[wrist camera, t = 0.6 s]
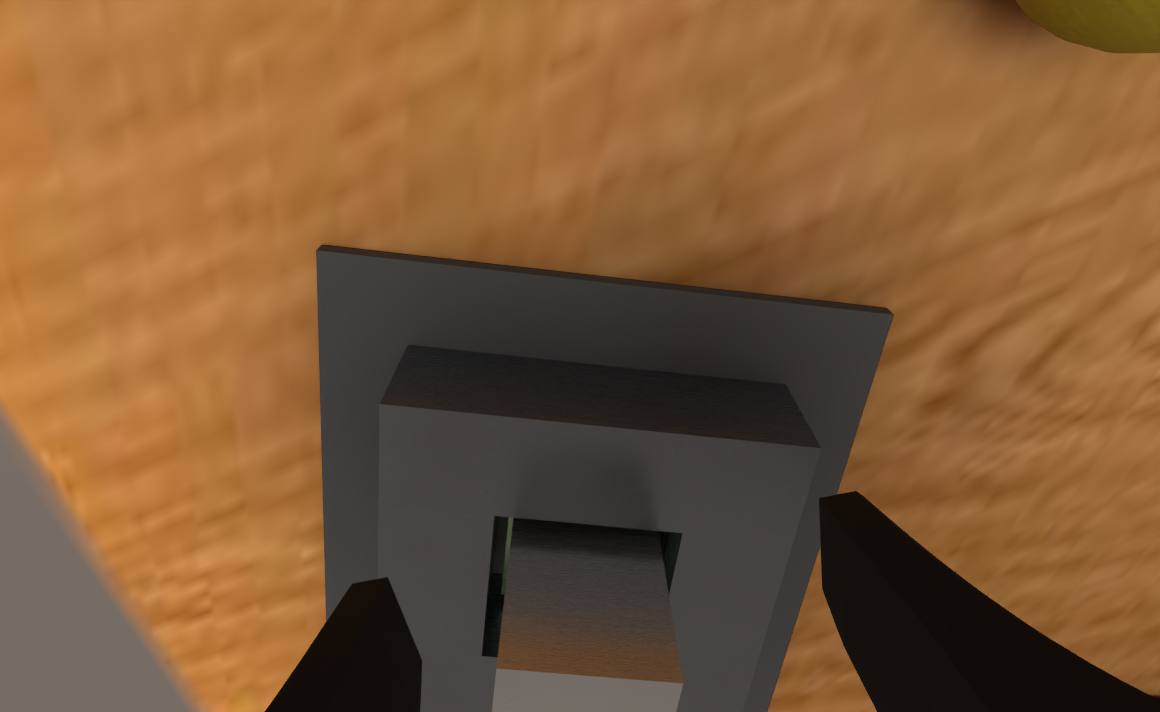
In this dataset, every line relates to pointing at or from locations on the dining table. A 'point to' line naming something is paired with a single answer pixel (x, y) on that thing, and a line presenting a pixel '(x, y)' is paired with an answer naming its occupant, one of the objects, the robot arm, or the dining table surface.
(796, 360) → the base mat
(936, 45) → the dining table surface
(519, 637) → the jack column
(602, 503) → the jack housing
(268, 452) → the dining table surface
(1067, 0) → the lemon
